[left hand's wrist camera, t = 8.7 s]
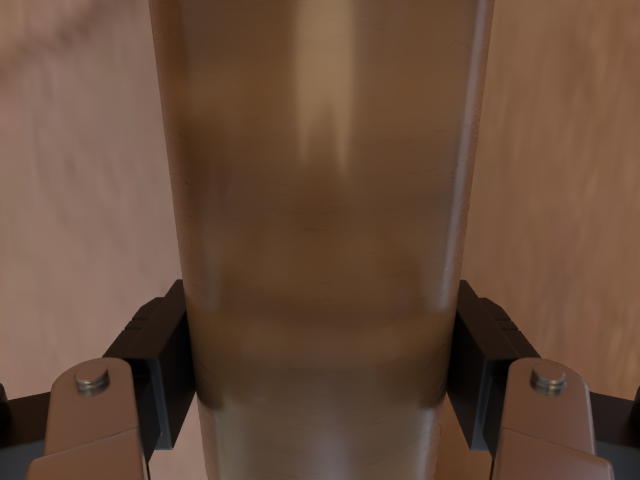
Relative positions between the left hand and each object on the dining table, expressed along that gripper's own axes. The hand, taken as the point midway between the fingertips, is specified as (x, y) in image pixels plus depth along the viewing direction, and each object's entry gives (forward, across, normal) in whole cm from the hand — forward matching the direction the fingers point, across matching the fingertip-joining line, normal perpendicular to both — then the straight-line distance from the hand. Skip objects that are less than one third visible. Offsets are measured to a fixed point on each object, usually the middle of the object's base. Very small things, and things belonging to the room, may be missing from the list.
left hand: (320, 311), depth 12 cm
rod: (+2, 0, -10) cm, 10 cm away
